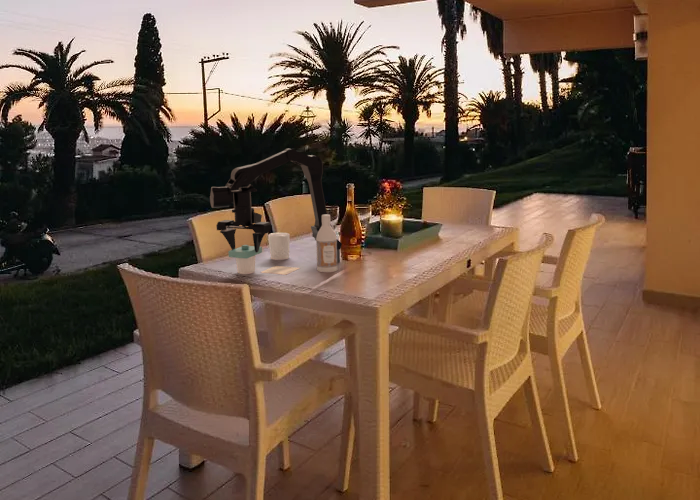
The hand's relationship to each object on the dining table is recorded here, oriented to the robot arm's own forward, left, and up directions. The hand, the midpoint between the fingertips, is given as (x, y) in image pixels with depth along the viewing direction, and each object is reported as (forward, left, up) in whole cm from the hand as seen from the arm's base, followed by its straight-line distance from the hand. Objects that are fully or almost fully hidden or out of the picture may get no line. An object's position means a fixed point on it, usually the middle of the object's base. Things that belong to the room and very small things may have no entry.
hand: (245, 251), depth 204 cm
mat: (-10, -6, -8) cm, 14 cm away
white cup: (0, -23, -8) cm, 24 cm away
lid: (0, 0, -1) cm, 1 cm away
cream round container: (0, 0, -8) cm, 8 cm away
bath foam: (-25, -12, -8) cm, 29 cm away
